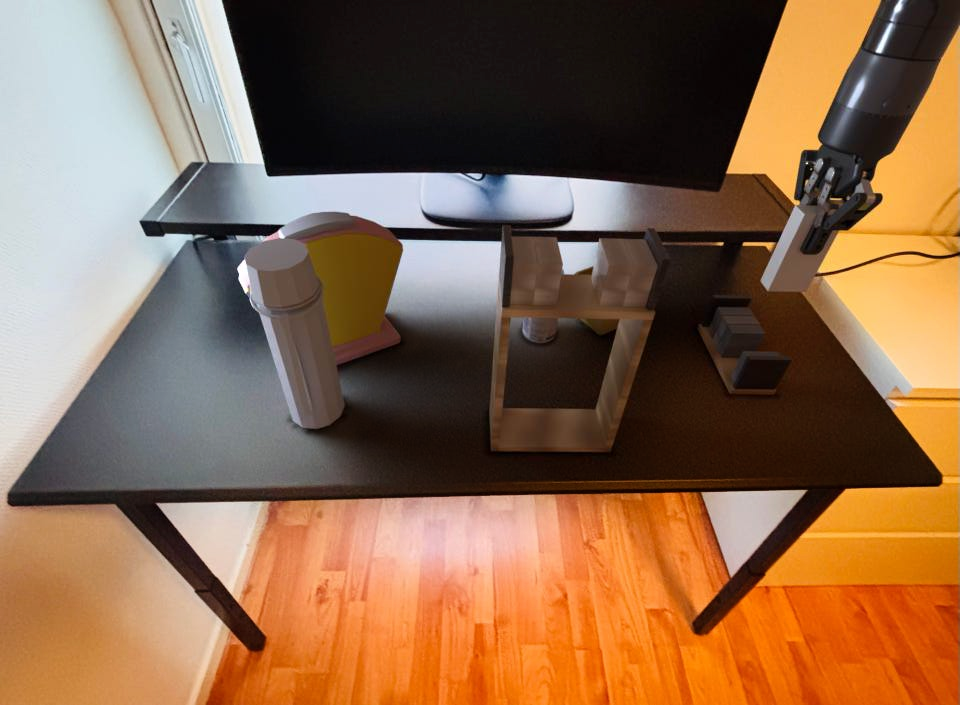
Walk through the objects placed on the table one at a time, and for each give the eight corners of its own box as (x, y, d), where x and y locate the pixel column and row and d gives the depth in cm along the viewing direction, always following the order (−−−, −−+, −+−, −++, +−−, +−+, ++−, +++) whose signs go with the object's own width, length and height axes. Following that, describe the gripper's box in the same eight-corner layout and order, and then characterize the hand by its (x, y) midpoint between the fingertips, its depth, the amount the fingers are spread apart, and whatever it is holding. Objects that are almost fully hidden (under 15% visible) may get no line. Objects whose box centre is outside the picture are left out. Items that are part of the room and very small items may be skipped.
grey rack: (774, 394, 78) (794, 359, 73) (729, 394, 78) (747, 359, 73) (736, 329, 89) (751, 295, 85) (697, 328, 89) (710, 294, 84)
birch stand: (601, 413, 74) (637, 283, 59) (610, 452, 69) (653, 320, 55) (489, 412, 74) (498, 280, 59) (490, 451, 69) (501, 317, 54)
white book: (806, 292, 70) (847, 215, 63) (767, 291, 70) (804, 214, 63) (797, 281, 72) (837, 206, 64) (760, 281, 72) (795, 205, 64)
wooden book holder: (637, 283, 59) (653, 226, 55) (653, 320, 55) (672, 261, 50) (498, 280, 59) (502, 223, 54) (501, 317, 54) (505, 258, 49)
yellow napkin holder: (392, 307, 90) (380, 187, 76) (417, 338, 85) (409, 214, 70) (260, 350, 81) (218, 223, 67) (277, 388, 76) (236, 258, 61)
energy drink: (555, 324, 88) (565, 263, 80) (554, 345, 85) (565, 283, 76) (523, 321, 89) (530, 259, 81) (521, 342, 85) (528, 279, 77)
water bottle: (291, 395, 75) (243, 237, 58) (348, 389, 76) (318, 233, 59) (284, 447, 68) (228, 286, 51) (347, 440, 69) (312, 281, 52)
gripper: (956, 125, 50) (862, 278, 62) (873, 82, 61) (805, 220, 72) (878, 122, 50) (799, 277, 62) (808, 80, 60) (751, 219, 72)
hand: (803, 246), depth 67 cm, fingers closed on white book, 2 cm apart
